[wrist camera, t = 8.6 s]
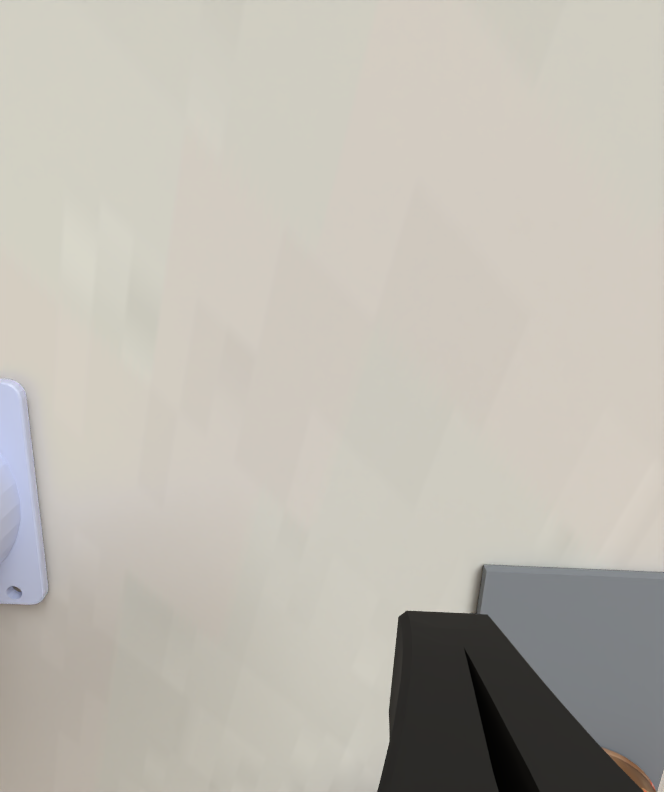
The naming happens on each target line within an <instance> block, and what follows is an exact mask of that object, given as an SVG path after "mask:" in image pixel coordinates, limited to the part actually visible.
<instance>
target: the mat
mask: <svg viewBox="0 0 664 792" xmlns="http://www.w3.org/2000/svg"><path fill="white" fill-rule="evenodd" d="M476 614H488V616H489V617H490V618H491V619H492V620H493V621H494V623H495V624H496V625H497V626H498V627H499V629H500V630H501V631H502V632H503V633H504V635H505V636H506V637H507V638H508V639H509V641H510V642H511V643H512V644H513V646H514V647H515V648H516V649H517V650H518V652H519V653H520V654H521V655H522V657H523V658H524V659H525V660H526V661H527V663H528V664H529V665H530V666H531V667H532V669H533V670H534V671H535V672H536V673H537V675H538V676H539V677H540V678H541V679H542V681H543V682H544V683H545V684H546V685H547V686H548V688H549V689H550V690H551V691H552V692H553V693H554V695H555V696H556V697H557V698H558V699H559V700H560V702H561V703H562V704H563V705H564V706H565V707H566V708H567V710H568V711H569V712H570V713H571V714H572V715H573V716H574V717H575V718H576V720H577V721H578V722H579V723H580V724H581V725H582V726H583V727H584V729H585V730H586V731H587V732H588V733H589V734H590V735H591V736H592V738H593V739H594V740H595V741H596V742H597V743H598V744H599V745H600V746H601V747H603V748H606V749H609V750H611V751H614V752H616V753H618V754H620V755H622V756H624V757H626V758H627V759H629V760H630V761H632V762H633V763H635V764H636V765H637V766H638V767H639V768H641V769H642V770H643V771H644V772H645V774H646V775H647V776H648V777H649V779H650V780H651V782H652V783H653V785H654V787H655V789H656V792H657V790H658V787H659V783H660V780H661V776H662V773H663V770H664V572H644V571H620V570H597V569H574V568H550V567H527V566H504V565H484V567H483V573H482V580H481V587H480V593H479V600H478V607H477V613H476Z"/></svg>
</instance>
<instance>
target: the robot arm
mask: <svg viewBox="0 0 664 792" xmlns="http://www.w3.org/2000/svg"><path fill="white" fill-rule="evenodd" d="M13 586H15V587H18V588H19V589H20V590H21V592H18V591H16V590H15V589H14V588H13ZM47 593H48V579H47V570H46V562H45V553H44V544H43V536H42V527H41V518H40V510H39V501H38V493H37V484H36V475H35V467H34V458H33V449H32V441H31V432H30V423H29V415H28V406H27V397H26V393H25V390H24V388H23V387H22V386H21V385H20V384H19V383H17V382H16V381H14V380H10V379H0V604H22V605H34V604H38V603H40V602H41V601H42V600H43V599H44V597H45V596H46V594H47ZM389 726H390V742H389V746H388V751H387V755H386V759H385V763H384V767H383V771H382V776H381V780H380V784H379V787H378V791H377V792H644V791H643V790H642V789H641V788H640V787H639V786H638V785H637V784H636V783H635V782H634V781H633V780H632V779H631V778H630V777H629V776H628V775H627V774H626V773H625V772H624V771H623V770H622V769H621V768H620V767H619V766H618V765H617V764H616V762H615V761H614V760H613V759H612V758H611V757H610V756H609V755H608V754H607V753H606V752H605V751H604V750H603V749H602V747H601V746H600V745H599V744H598V743H597V742H596V741H595V740H594V739H593V738H592V736H591V735H590V734H589V733H588V732H587V731H586V730H585V729H584V727H583V726H582V725H581V724H580V723H579V722H578V721H577V720H576V718H575V717H574V716H573V715H572V714H571V713H570V712H569V711H568V710H567V708H566V707H565V706H564V705H563V704H562V703H561V702H560V700H559V699H558V698H557V697H556V696H555V695H554V693H553V692H552V691H551V690H550V689H549V688H548V686H547V685H546V684H545V683H544V682H543V681H542V679H541V678H540V677H539V676H538V675H537V673H536V672H535V671H534V670H533V669H532V667H531V666H530V665H529V664H528V663H527V661H526V660H525V659H524V658H523V657H522V655H521V654H520V653H519V652H518V650H517V649H516V648H515V647H514V646H513V644H512V643H511V642H510V641H509V639H508V638H507V637H506V636H505V635H504V633H503V632H502V631H501V630H500V629H499V627H498V626H497V625H496V624H495V623H494V621H493V620H492V619H491V618H490V617H489V616H488V614H467V613H445V612H422V611H406V612H405V613H403V614H402V615H401V616H399V618H398V628H397V638H396V647H395V657H394V667H393V677H392V686H391V696H390V706H389Z"/></svg>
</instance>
